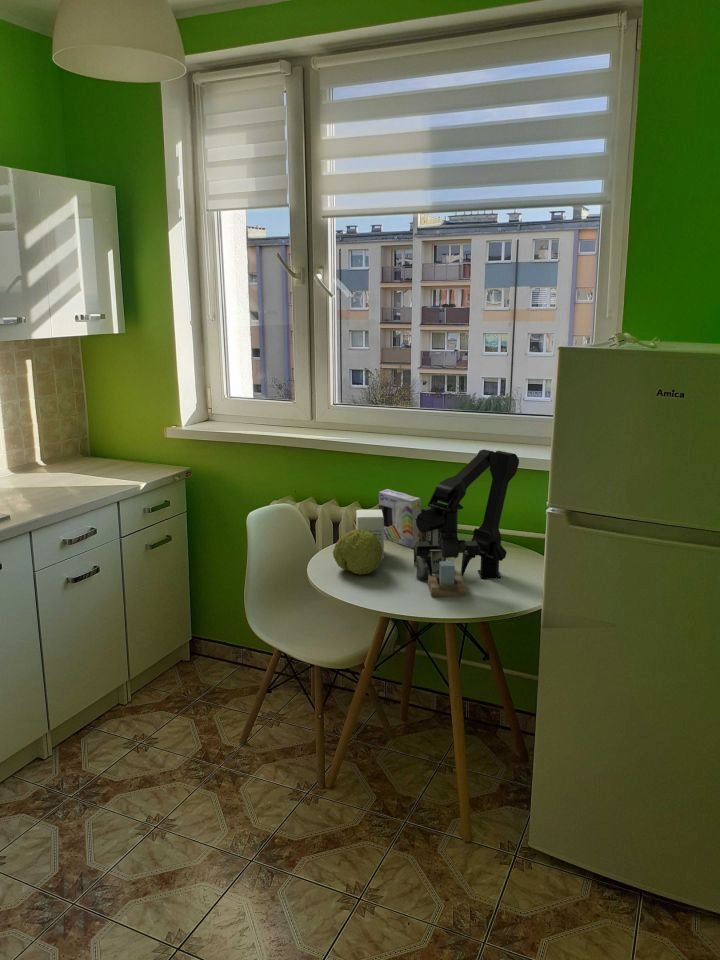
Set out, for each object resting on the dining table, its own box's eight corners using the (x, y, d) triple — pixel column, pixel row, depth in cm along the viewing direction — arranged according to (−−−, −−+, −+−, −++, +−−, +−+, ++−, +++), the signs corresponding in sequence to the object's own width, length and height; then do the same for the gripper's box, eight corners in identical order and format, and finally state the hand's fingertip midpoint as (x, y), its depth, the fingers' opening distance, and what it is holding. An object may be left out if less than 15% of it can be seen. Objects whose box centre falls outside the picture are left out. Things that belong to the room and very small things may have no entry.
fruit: (324, 576, 243) (322, 529, 246) (352, 580, 254) (350, 535, 258) (366, 570, 233) (363, 521, 237) (392, 574, 244) (390, 527, 248)
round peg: (415, 576, 243) (416, 552, 241) (429, 575, 243) (429, 551, 241) (417, 581, 238) (417, 556, 237) (430, 580, 239) (431, 556, 237)
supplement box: (356, 551, 266) (355, 509, 262) (382, 550, 266) (382, 508, 263) (357, 560, 257) (356, 517, 253) (384, 559, 257) (384, 516, 254)
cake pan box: (377, 536, 281) (377, 489, 277) (387, 533, 284) (387, 487, 280) (412, 550, 267) (412, 500, 262) (423, 547, 270) (423, 498, 265)
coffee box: (446, 568, 249) (447, 520, 245) (432, 573, 245) (433, 524, 241) (427, 561, 256) (427, 514, 252) (412, 565, 252) (413, 518, 248)
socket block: (428, 584, 236) (428, 575, 235) (460, 583, 236) (461, 574, 235) (431, 597, 226) (431, 587, 225) (465, 596, 226) (465, 587, 225)
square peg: (439, 586, 233) (439, 561, 231) (452, 586, 233) (453, 561, 231) (440, 591, 229) (441, 566, 227) (454, 591, 229) (454, 565, 227)
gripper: (418, 534, 218) (417, 586, 222) (484, 533, 218) (482, 585, 222) (415, 522, 229) (414, 572, 233) (477, 522, 229) (476, 571, 233)
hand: (446, 575), depth 230 cm, fingers open, 9 cm apart
